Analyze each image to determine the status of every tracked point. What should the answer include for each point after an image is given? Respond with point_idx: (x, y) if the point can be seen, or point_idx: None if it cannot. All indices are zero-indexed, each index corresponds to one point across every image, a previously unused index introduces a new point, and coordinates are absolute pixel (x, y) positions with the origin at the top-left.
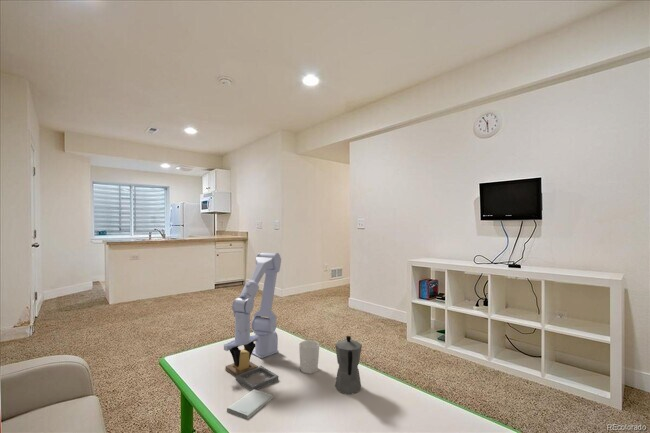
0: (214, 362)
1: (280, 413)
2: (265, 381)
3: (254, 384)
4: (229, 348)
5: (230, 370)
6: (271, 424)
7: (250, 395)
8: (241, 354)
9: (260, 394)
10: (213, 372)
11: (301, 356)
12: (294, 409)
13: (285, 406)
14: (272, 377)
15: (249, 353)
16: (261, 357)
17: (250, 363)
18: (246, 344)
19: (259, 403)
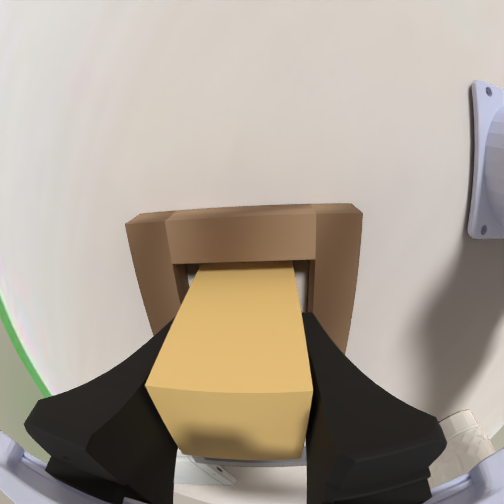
0: (130, 22)
1: (218, 494)
2: (258, 466)
3: (209, 460)
4: (44, 475)
5: (148, 302)
6: (186, 494)
7: (175, 466)
8: (200, 453)
9: (205, 475)
10: (67, 193)
11: (433, 485)
12: (251, 499)
13: (242, 493)
14: (300, 463)
15: (306, 440)
16: (472, 237)
17: (332, 323)
18: (319, 497)
19: (185, 483)
